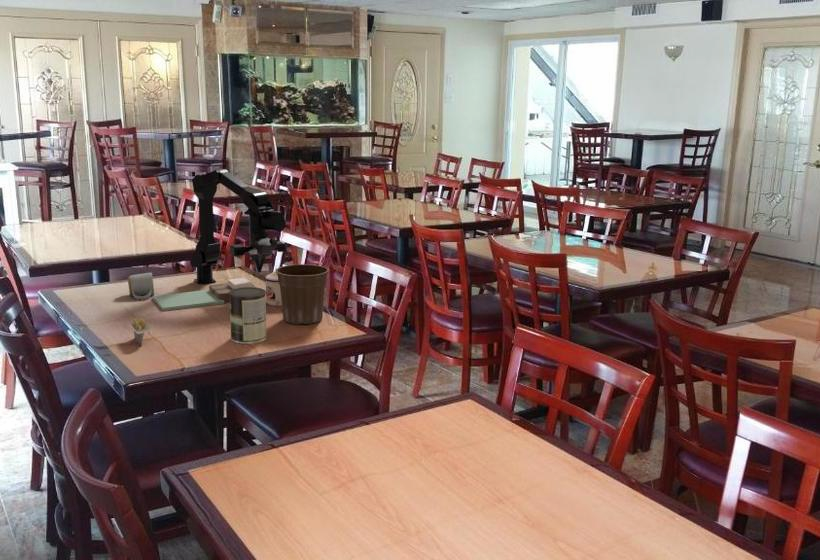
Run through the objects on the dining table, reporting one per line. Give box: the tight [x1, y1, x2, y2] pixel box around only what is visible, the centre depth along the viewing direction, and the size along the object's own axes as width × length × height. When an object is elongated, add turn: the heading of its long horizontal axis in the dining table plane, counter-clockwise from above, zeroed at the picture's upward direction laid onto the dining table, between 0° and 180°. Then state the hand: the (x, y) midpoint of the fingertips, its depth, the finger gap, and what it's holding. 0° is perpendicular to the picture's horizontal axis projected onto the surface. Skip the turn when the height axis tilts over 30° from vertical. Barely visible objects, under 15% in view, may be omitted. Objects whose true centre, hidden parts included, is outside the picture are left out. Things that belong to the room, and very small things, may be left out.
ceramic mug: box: [127, 271, 155, 301], centre depth 266 cm, size 11×8×8 cm
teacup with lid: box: [264, 270, 282, 307], centre depth 260 cm, size 12×9×12 cm
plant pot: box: [275, 263, 330, 325], centre depth 242 cm, size 16×16×16 cm
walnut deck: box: [208, 282, 258, 303], centre depth 269 cm, size 13×14×3 cm
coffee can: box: [229, 286, 268, 345], centre depth 223 cm, size 10×10×14 cm
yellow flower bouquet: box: [129, 317, 151, 347], centre depth 220 cm, size 12×18×7 cm, turn 32°
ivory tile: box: [227, 277, 253, 289], centre depth 269 cm, size 8×6×2 cm
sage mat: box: [151, 289, 225, 312], centre depth 262 cm, size 16×20×1 cm
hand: (259, 272), depth 272 cm, fingers closed
